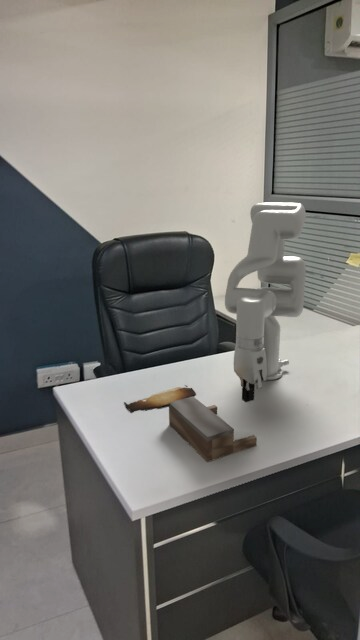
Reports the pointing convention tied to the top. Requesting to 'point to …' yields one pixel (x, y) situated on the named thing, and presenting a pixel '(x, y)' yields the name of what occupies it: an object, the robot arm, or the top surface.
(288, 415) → the top surface
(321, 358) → the top surface
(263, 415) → the top surface
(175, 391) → the parchment
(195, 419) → the wooden step block
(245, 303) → the robot arm
